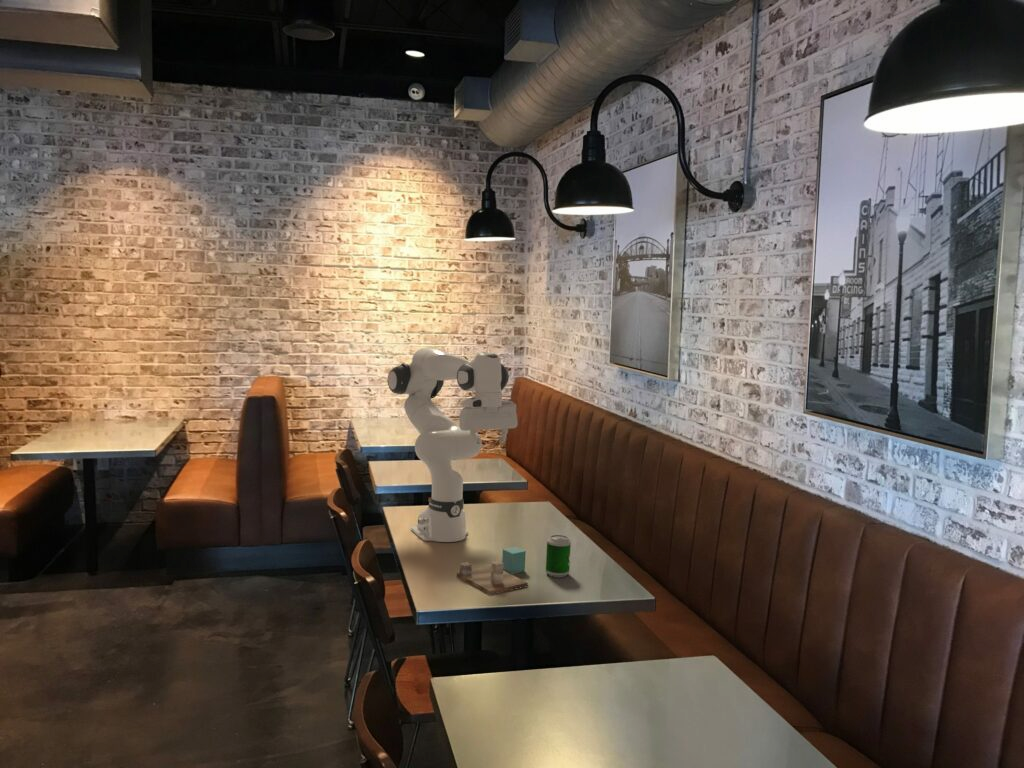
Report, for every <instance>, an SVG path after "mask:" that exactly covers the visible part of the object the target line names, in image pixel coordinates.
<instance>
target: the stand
mask: <svg viewBox="0 0 1024 768" xmlns="http://www.w3.org/2000/svg"><path fill="white" fill-rule="evenodd" d="M472 565H473V564H471V563H469V562H462V563H459V572H456V576H457V578H458V577H459V578H458V579H460V578H461V579H460V580H462V579H463V580H462V581H464V580H465V581H466V582H465V581H464V582H465V583H467V582H468V583H467V584H469V583H470V584H469V585H471V584H472V585H471V586H473V587H474V586H475V587H474V588H476V587H477V588H476V589H478V588H479V589H478V590H480V591H482V590H483V591H484V592H483V591H482V592H483V593H485V592H486V593H485V594H487V593H488V594H487V595H489V594H492V595H494V594H493V593H496V594H499V593H498V592H501V593H503V592H502V591H505V592H509V591H508V590H510V591H512V590H511V589H514V590H517V589H516V588H519V589H521V588H520V587H523V588H526V587H525V586H528V585H529V582H527V581H525V580H524V579H521V578H519V577H517V576H515V575H513V574H511V573H509V572H507V571H505V570H503V563H502V561H500V560H497V561H491V564H490V566H484V567H479V568H473V569H472Z"/></svg>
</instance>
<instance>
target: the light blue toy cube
mask: <svg viewBox="0 0 1024 768" xmlns="http://www.w3.org/2000/svg"><path fill="white" fill-rule="evenodd" d="M501 562H502V563H503V569H504V570H503V571H505V570H506V571H505V572H507V573H509V572H510V573H509V574H511V575H513V574H512V573H514V574H518V573H517V572H519V573H522V572H521V571H524V572H526V571H525V570H526V550H525V549H522V548H520V547H518V546H513V547H507V548H503V549H502V559H501Z"/></svg>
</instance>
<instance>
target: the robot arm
mask: <svg viewBox="0 0 1024 768" xmlns="http://www.w3.org/2000/svg"><path fill="white" fill-rule="evenodd" d="M509 378H510V374H509V372H508V370H507V368H506V367H505V365H504V364H503V363H502V362H501V358H500V357H499V355H498V354H496V353H493V352H487V351H486V352H478V353H476V355H475V357H474V358H473V359H472V360H469V359H467V358H463V357H460V356H457V355H454V354H452V353H449V352H447V351H445V350H442V349H437V348H432V347H423V348H420V349H417V350H416V351H415V353H414V354H413V356H412V359H411V362H410V363H408V364H407V363H406V362H402V363H401V364H400V365H398V366H394V367H393V368H392V369H391V370H390V371H389V373H388V375H387V385H388V387H389V390H390V391H391V392H392V393H394V394H396V395H408V397H407V398H406V399H405V401H404V402H403V403H404V405H403V408H404V411H405V414H406V415H407V418H408V420H409V421H410V423H411V424H412V425H413V427H414V428H415V429H416V430H417V432H418V433H419V435H418V436H417V438H416V440H415V442H414V451H415V455H416V456H417V458H418V459H419V460H420V461H422V463H423V464H425V465H426V467H427V469H428V470H429V474H430V478H431V497H428V500H427V501H428V502H429V503H428V507H427V508H426V509H424V510H423V511H421V512H420V513H419V514H418V516H417V524H415V525H413V526H411V527H410V531H412V532H413V533H414V534H415V535H416V536H417V537H418V538H419V539H421V540H422V541H426V542H428V541H429V542H438V543H452V542H455V543H456V542H458V541H459V542H460V541H463V540H464V539H466V536H467V535H468V534H469V530H468V529H467V525H466V524H467V523H466V521H467V520H466V513H465V512H466V511H464V510H463V509H464V505H465V503H464V498H463V496H464V495H463V493H464V491H463V489H464V479H463V477H462V475H461V474H460V473H459V472H458V471H457V470H454V469H453V468H452V464H451V462H452V461H460V460H461V461H462V460H467V459H470V458H474V457H477V456H478V455H479V453H480V452H481V450H482V446H483V443H482V438H481V436H480V434H479V432H477V431H484V430H485V431H487V430H500V431H501V436H498V443H506V436H507V434H508V433H509V429H516V428H517V427H518V415H517V404H516V402H513V400H503V390H504V389H505V387H506V386H507V384H508V383H509ZM451 380H456V382H457V384H458V387H459V388H460V389H461V390H462V391H466V392H474V396H472V397H470V398H467V399H464V400H462V402H461V407H462V409H461V410H460V413H459V421H458V422H459V424H458V423H457V422H455V421H453V420H451V419H450V418H449V417H447V416H446V415H445V414H444V413H443V412H442V411H441V410H440V409H439V407H437V405H436V404H435V403H434V402H433V400H432V399H435V398H436V397H437V396H438V393H440V392H441V390H442V388H443V386H444V382H445V381H451Z"/></svg>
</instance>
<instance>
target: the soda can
mask: <svg viewBox="0 0 1024 768" xmlns="http://www.w3.org/2000/svg"><path fill="white" fill-rule="evenodd" d="M571 543H572V542H571V539H570V538H569V537H568V536H567V535H563V534H553V535H550V536H549V538H547V542H546V557H545V558H546V559H545V560H546V561H545V572H546V573H547V575H548V574H549V575H548V576H550V577H552V576H553V577H552V578H565V577H566V576H567V575H568V574H569V573H570V566H571V548H572V547H571V545H572V544H571Z"/></svg>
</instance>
